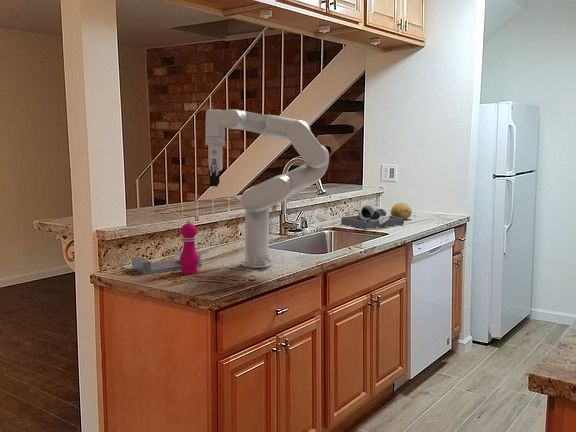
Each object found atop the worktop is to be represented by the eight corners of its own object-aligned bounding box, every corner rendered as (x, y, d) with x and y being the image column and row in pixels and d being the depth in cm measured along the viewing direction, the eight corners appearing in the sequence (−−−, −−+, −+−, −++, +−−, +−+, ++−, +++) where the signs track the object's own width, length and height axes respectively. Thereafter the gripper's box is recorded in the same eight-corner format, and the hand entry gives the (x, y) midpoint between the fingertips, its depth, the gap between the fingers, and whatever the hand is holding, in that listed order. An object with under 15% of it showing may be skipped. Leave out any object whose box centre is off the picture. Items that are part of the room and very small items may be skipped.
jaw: (200, 262, 232) (200, 255, 232) (184, 264, 228) (184, 257, 228) (190, 258, 239) (190, 251, 239) (174, 260, 235) (174, 253, 235)
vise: (201, 266, 232) (201, 255, 231) (143, 274, 218) (142, 263, 217) (189, 261, 241) (189, 250, 240) (132, 268, 227) (131, 257, 226)
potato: (395, 217, 369) (396, 201, 367) (413, 219, 361) (414, 203, 359) (387, 219, 361) (387, 202, 359) (405, 221, 353) (406, 204, 351)
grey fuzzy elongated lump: (353, 220, 347) (353, 204, 345) (367, 219, 351) (368, 203, 350) (377, 228, 325) (378, 210, 323) (392, 227, 329) (393, 209, 327)
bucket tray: (403, 225, 339) (404, 218, 338) (366, 229, 322) (366, 222, 322) (377, 220, 356) (378, 213, 355) (341, 224, 339) (341, 217, 339)
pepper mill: (190, 269, 228) (189, 217, 225) (203, 272, 223) (202, 219, 220) (175, 272, 222) (174, 219, 219) (188, 275, 218) (187, 221, 215)
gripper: (223, 142, 223) (223, 187, 226) (225, 141, 240) (225, 183, 243) (203, 141, 223) (203, 187, 225) (207, 140, 240) (206, 182, 242)
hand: (214, 185), depth 234 cm, fingers open, 9 cm apart
